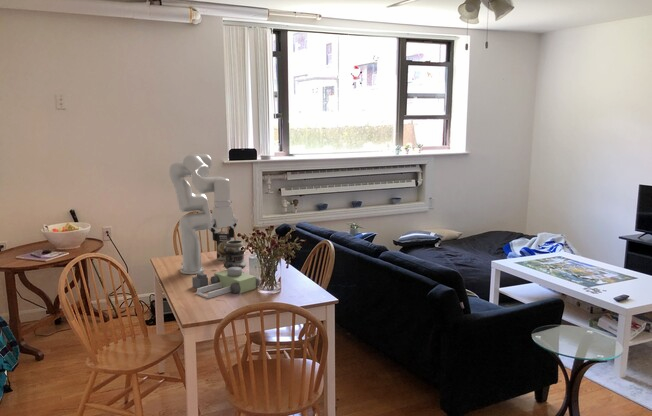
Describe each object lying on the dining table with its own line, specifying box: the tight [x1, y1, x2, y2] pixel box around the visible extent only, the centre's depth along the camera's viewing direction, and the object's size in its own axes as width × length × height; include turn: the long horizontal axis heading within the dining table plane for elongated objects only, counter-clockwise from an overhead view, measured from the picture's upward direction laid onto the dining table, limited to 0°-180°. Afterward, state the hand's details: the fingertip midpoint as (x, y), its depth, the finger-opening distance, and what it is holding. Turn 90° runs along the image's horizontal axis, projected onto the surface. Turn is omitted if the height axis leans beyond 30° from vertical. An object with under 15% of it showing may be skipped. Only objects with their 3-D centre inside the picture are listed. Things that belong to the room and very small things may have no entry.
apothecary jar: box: [223, 239, 247, 273], centre depth 274 cm, size 12×12×18 cm
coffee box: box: [215, 230, 235, 261], centre depth 305 cm, size 9×6×16 cm
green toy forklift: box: [195, 267, 261, 299], centre depth 250 cm, size 21×26×9 cm
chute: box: [191, 272, 209, 290], centre depth 254 cm, size 6×5×7 cm
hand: (223, 239), depth 248 cm, fingers open, 9 cm apart
